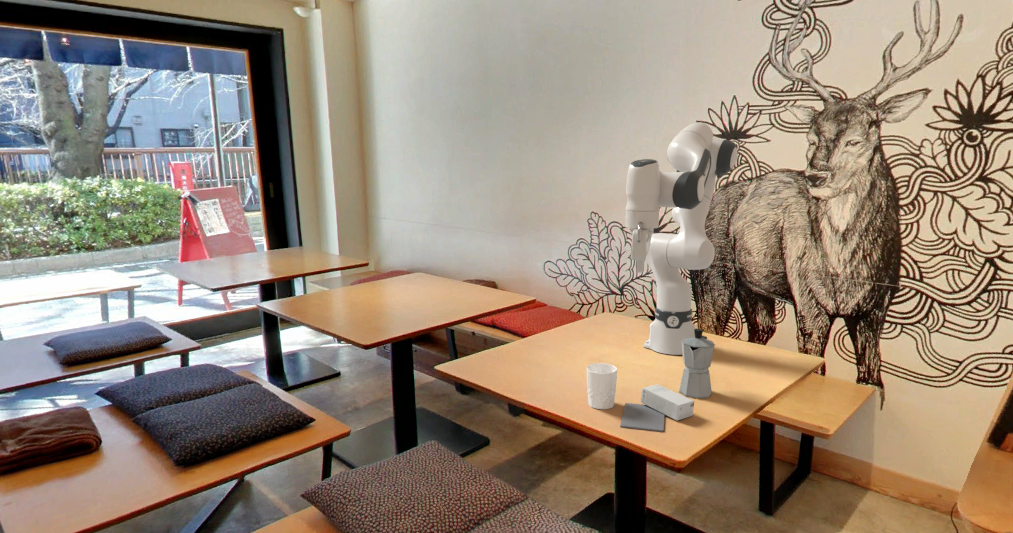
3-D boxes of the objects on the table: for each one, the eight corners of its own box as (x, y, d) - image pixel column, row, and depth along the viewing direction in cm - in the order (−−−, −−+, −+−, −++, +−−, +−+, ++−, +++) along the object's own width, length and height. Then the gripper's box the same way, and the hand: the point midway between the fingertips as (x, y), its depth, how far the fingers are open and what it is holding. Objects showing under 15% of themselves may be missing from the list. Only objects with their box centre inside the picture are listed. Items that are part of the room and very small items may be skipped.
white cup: (622, 403, 154) (623, 367, 152) (605, 413, 148) (606, 375, 147) (596, 396, 159) (597, 361, 158) (580, 405, 154) (580, 368, 152)
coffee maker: (707, 403, 153) (711, 337, 150) (673, 397, 158) (676, 333, 155) (717, 385, 166) (721, 323, 163) (686, 379, 171) (688, 320, 167)
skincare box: (639, 402, 153) (676, 422, 143) (641, 386, 152) (678, 405, 142) (656, 398, 156) (692, 417, 146) (658, 382, 155) (695, 401, 145)
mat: (625, 404, 154) (625, 402, 154) (664, 408, 151) (665, 406, 151) (620, 427, 141) (620, 425, 140) (663, 431, 138) (663, 430, 138)
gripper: (652, 225, 147) (650, 279, 149) (655, 217, 166) (653, 265, 168) (626, 224, 148) (624, 278, 151) (632, 217, 168) (631, 265, 170)
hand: (640, 271), depth 160 cm, fingers closed
